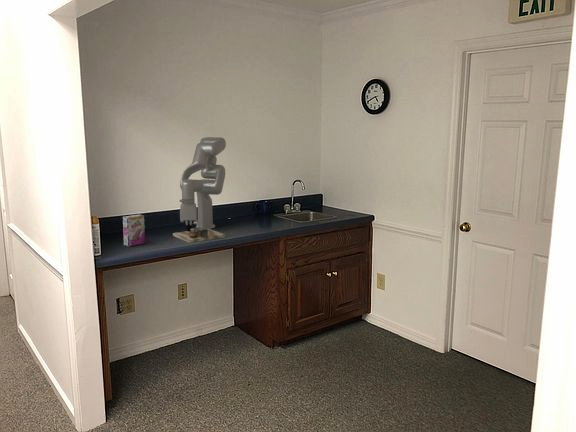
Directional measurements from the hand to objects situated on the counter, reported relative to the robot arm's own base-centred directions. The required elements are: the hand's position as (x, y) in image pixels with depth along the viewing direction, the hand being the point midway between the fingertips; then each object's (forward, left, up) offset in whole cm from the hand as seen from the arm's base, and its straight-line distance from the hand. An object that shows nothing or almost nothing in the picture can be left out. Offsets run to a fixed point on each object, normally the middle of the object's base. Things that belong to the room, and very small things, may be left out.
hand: (189, 231), depth 302 cm
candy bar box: (-16, -32, -3) cm, 36 cm away
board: (+8, -2, -2) cm, 8 cm away
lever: (+6, -5, -1) cm, 8 cm away
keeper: (+12, -7, -1) cm, 14 cm away
